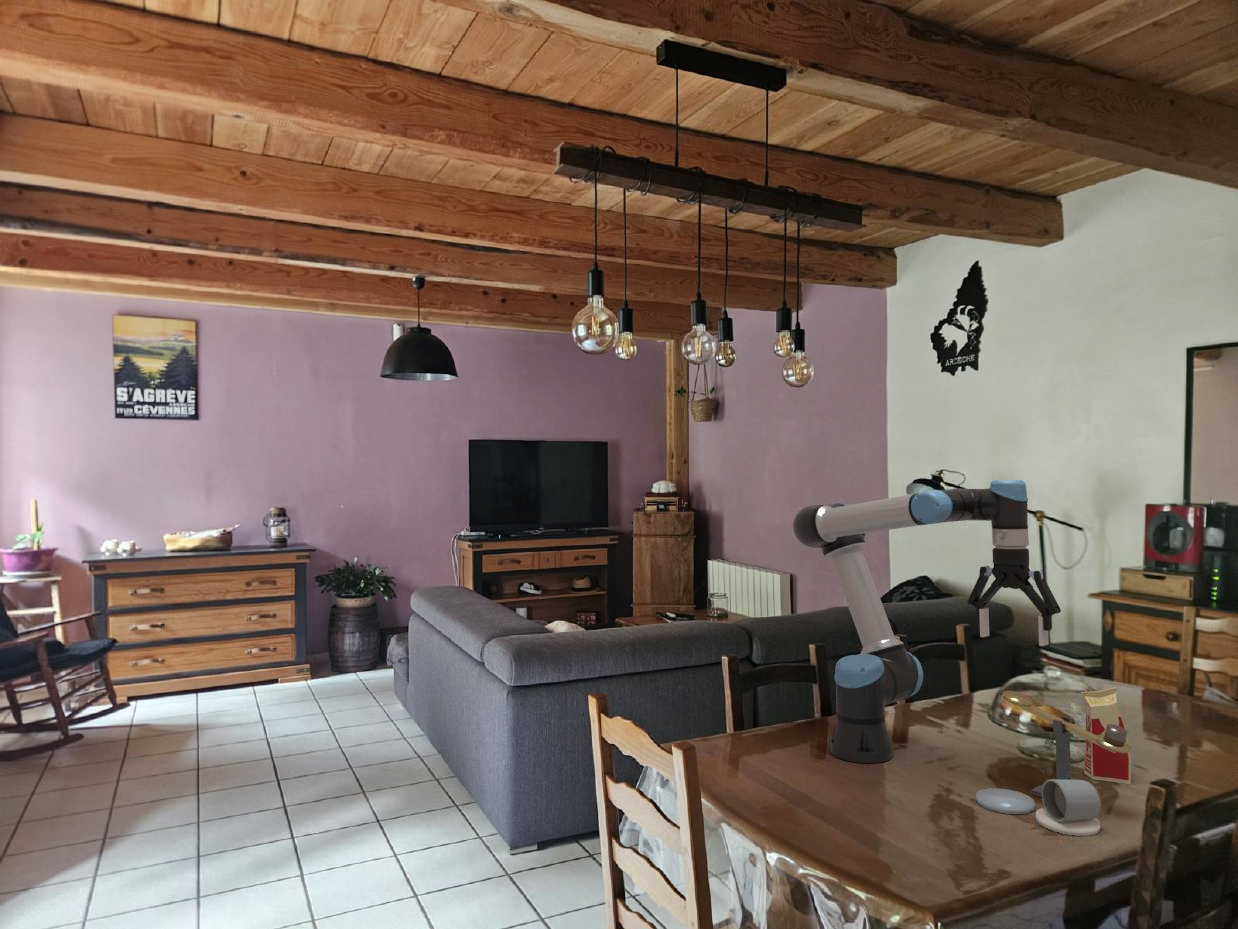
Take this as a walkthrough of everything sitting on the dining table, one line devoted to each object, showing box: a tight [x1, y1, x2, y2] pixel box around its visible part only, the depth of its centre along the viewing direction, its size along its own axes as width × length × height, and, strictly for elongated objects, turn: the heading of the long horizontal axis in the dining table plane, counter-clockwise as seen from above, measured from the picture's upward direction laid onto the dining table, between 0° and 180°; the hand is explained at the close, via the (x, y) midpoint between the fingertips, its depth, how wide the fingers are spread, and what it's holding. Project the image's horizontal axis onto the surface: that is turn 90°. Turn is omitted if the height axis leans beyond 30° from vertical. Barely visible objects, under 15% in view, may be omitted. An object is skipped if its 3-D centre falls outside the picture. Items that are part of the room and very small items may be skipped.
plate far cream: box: [1035, 806, 1101, 837], centre depth 156 cm, size 11×11×1 cm
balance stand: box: [1030, 715, 1072, 798], centre depth 169 cm, size 10×8×16 cm
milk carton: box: [1080, 686, 1132, 785], centre depth 181 cm, size 9×9×20 cm
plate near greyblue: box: [975, 788, 1036, 815], centre depth 166 cm, size 11×11×1 cm
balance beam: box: [1002, 690, 1131, 753], centre depth 169 cm, size 26×6×5 cm, turn 36°
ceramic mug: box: [1041, 778, 1103, 822], centre depth 157 cm, size 11×8×8 cm
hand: (1013, 640), depth 182 cm, fingers open, 13 cm apart
